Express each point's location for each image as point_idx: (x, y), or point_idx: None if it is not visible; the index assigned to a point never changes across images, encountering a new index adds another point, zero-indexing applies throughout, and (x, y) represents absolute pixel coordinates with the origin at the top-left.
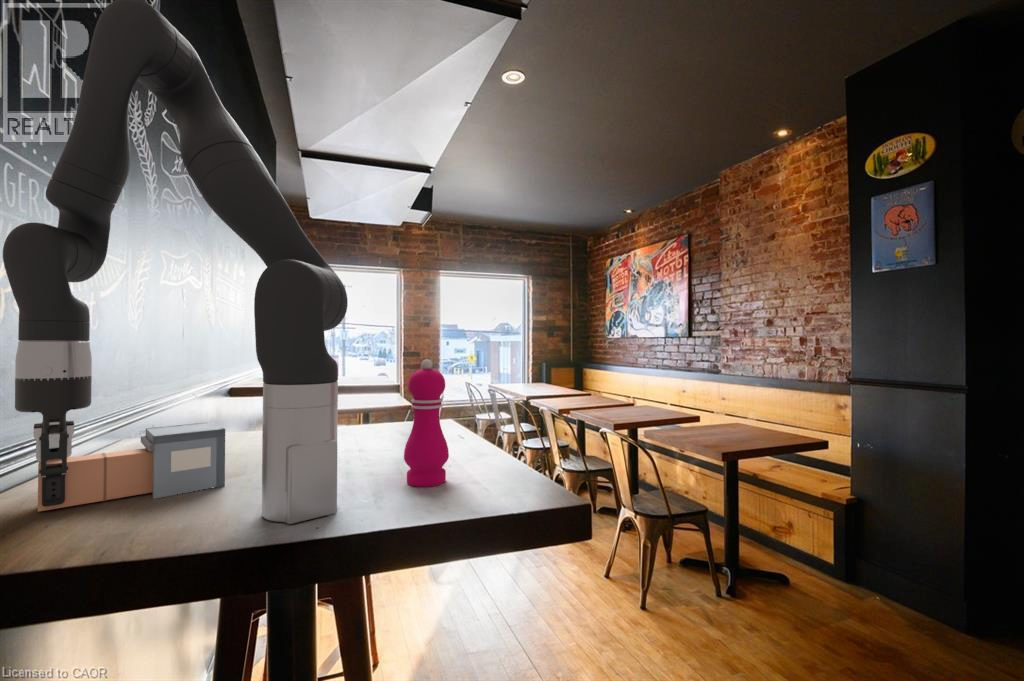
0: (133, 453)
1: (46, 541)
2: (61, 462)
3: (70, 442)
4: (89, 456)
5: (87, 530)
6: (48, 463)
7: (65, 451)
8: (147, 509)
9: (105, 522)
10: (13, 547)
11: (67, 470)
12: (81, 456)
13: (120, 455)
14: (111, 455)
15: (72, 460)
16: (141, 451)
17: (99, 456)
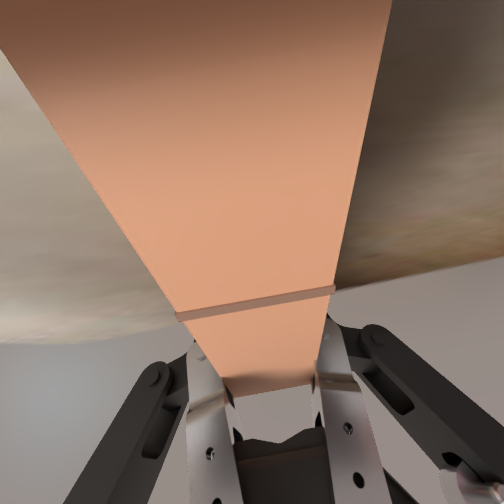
0: (328, 136)
1: (459, 240)
2: (307, 366)
3: (381, 467)
4: (241, 339)
5: (475, 194)
6: (296, 379)
7: (488, 416)
8: (469, 51)
9: (461, 167)
10: (438, 267)
11: (333, 329)
12: (225, 356)
13: (338, 230)
14: (288, 275)
15: (295, 356)
16: (255, 25)
17: (273, 312)
